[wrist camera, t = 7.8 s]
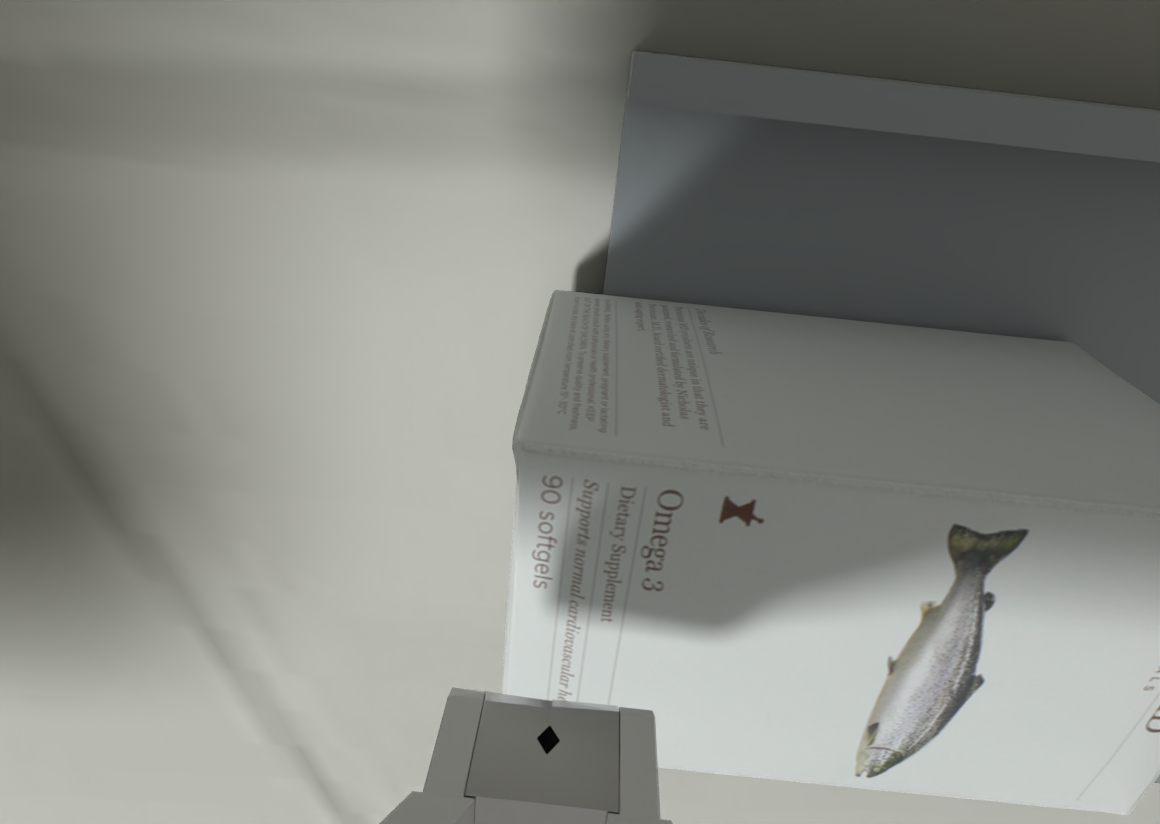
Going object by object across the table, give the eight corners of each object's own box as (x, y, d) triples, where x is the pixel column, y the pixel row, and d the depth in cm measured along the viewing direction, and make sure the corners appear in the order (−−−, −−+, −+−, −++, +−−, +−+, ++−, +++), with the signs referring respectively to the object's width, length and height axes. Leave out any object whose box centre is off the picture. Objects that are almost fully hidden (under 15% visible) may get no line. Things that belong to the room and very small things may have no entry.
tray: (1215, 723, 23) (1276, 796, 21) (560, 650, 23) (554, 715, 21) (1657, 166, 15) (1837, 189, 13) (632, 50, 15) (633, 53, 13)
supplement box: (505, 438, 10) (1373, 521, 10) (548, 283, 17) (1078, 334, 17) (491, 768, 14) (1141, 830, 14) (531, 532, 20) (971, 574, 20)
